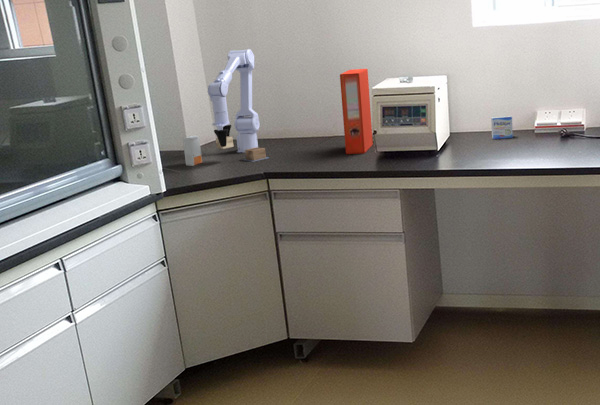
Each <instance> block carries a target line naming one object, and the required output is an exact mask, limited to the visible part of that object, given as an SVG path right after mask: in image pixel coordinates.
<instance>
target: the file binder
mask: <svg viewBox="0 0 600 405" xmlns="http://www.w3.org/2000/svg"><path fill="white" fill-rule="evenodd" d="M368 72H369V70H368V68H359V69H358V68H356V69H354V68H353V69H348V70H346V71H344V72H341V73H339V82H340V94H341V96H340V97H341V106H342V120H343V131H344V132H343V133H344V143H345V144H344V147H345V154H346V155H354V154H355V155H356V154H366V152H368V151H369V149H370V148H371V147H373V145H374V144H373V143H374V142H373V127H372V126H373V125H372V117H371V116H372V113H371V100H370V99H371V98H370V88H369V87H370V85H369V84H370V83H369V73H368Z"/></svg>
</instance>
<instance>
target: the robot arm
mask: <svg viewBox="0 0 600 405" xmlns="http://www.w3.org/2000/svg"><path fill="white" fill-rule="evenodd" d="M254 69H255V54H254V53H253V51H252V49H250V48H247V49H242V50H241V49H240V50H238V49H237V50H229V52H228V54H227V63H226V65H225V67H224V69H221V70H220V71H219V73H218V74H217V76H216V78H215V79H214V80H213V82H210V83H209V85H208V86H207V93H208V96H209V98H210V99H209V100H210V101H211V103H212V110H213V118H214V122H213V123H211V125H212V126H215V127H216V128H217V129H214V130H213V132H214V134H215V136H216V138H218V140H219V143H220V146H221V147H225V146H226V143H227V136H229V137H230V133H231V128H232V124H230V122H231V121H230V119H229V118H230V117H229V112H228V111H229V110H228V105H227V104H228V103H227V97H226V96H227V95H228V92H229V91H228V90H229V85H230V84H231V82H232V80H233V73H234V72H235V71H237V72H239V74H240V75H239V77H240V80H239V81H240V82H239V84H240V85H239V86H240V88H239V89H240V90H239V92H240V110H239V111H238V112H237V113H236V114H235V119H234V125H233V126H234V129H235V131H237V133H238V134H237V135H236V145H237V151H236V153H245V150H247V149H251V148H256V147H259V143H258V134H257V132H259V130H260V127H261V126H260V125H261V124H260V123H261V122H260V118H259V114H258V112H256V111H255V110H254V109H253V70H254Z"/></svg>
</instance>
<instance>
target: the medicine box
mask: <svg viewBox="0 0 600 405" xmlns="http://www.w3.org/2000/svg"><path fill="white" fill-rule="evenodd" d="M490 119H491V121H490V122H491V138H492V140H504V139H505V140H506V139H513V136H514V134H513V116H512V115H502V116H491V117H490Z"/></svg>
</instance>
